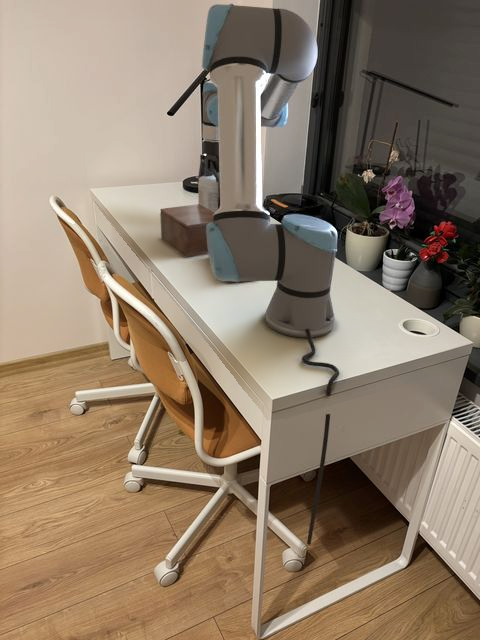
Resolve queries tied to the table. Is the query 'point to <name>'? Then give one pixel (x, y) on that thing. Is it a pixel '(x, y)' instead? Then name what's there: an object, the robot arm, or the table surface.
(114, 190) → the table surface
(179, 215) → the lid
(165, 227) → the chest
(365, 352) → the table surface
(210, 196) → the supplement tub
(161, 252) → the table surface
